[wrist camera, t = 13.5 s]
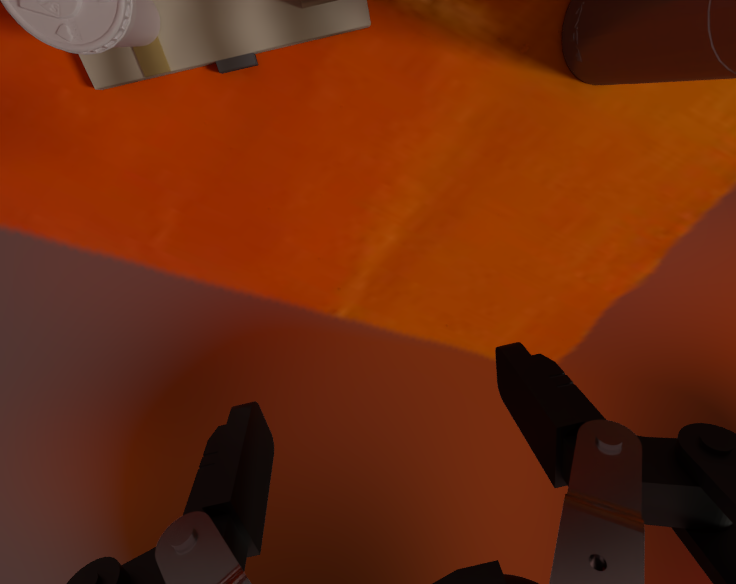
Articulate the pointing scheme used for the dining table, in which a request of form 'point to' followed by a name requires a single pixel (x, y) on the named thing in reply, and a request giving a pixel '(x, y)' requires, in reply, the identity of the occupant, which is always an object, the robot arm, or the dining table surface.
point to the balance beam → (223, 36)
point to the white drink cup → (87, 23)
